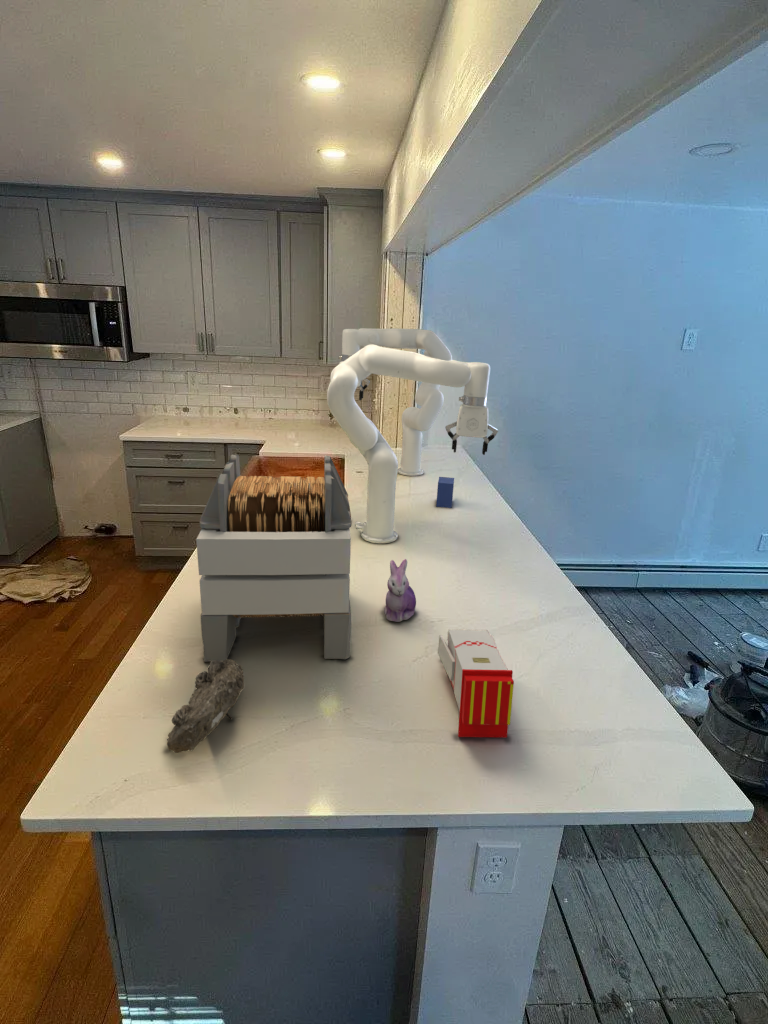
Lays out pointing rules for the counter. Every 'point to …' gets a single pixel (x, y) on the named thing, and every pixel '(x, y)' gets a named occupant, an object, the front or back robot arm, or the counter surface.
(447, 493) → the block
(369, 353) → the front robot arm
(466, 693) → the toy
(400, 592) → the figurine
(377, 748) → the counter surface
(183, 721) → the fossil
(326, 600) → the record crate
